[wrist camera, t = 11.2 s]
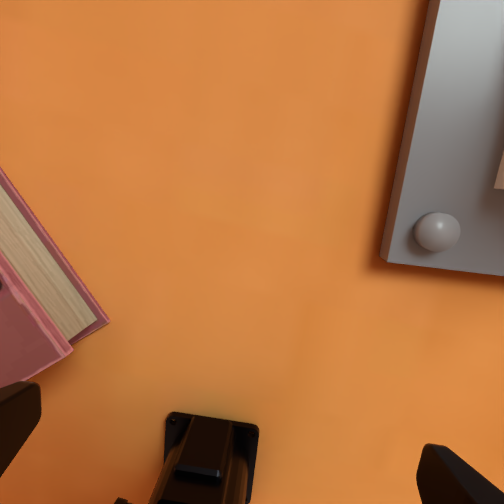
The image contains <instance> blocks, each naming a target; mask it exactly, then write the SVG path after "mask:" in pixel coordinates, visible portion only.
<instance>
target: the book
mask: <svg viewBox="0 0 504 504" xmlns="http://www.w3.org/2000/svg"><path fill="white" fill-rule="evenodd" d="M108 322H110V319H109V318H108V316H107V315H106V314H105V312H104V311H103V309H102V308H101V307H100V305H99V304H98V302H97V301H96V300H95V298H94V297H93V296H92V294H91V293H90V291H89V290H88V289H87V287H86V286H85V284H84V283H83V282H82V280H81V279H80V277H79V276H78V275H77V273H76V272H75V270H74V269H73V268H72V266H71V265H70V263H69V262H68V261H67V259H66V258H65V257H64V255H63V254H62V252H61V251H60V250H59V248H58V247H57V245H56V244H55V243H54V241H53V240H52V238H51V237H50V236H49V234H48V233H47V231H46V230H45V229H44V227H43V226H42V224H41V223H40V222H39V220H38V219H37V217H36V216H35V215H34V213H33V212H32V211H31V209H30V208H29V206H28V205H27V204H26V202H25V201H24V199H23V198H22V197H21V195H20V194H19V192H18V191H17V190H16V188H15V187H14V185H13V184H12V183H11V181H10V180H9V178H8V177H7V176H6V174H5V173H4V171H3V170H2V169H1V167H0V388H2V387H4V386H7V385H10V384H13V383H15V382H18V381H26V380H27V379H29V378H31V377H32V376H34V375H36V374H38V373H39V372H41V371H43V370H44V369H46V368H48V367H49V366H51V365H53V364H54V363H56V362H58V361H60V360H61V359H63V358H65V357H66V356H67V355H69V354H70V353H71V352H72V351H74V349H73V348H72V347H71V345H72V344H74V343H75V342H77V341H79V340H80V339H82V338H84V337H85V336H87V335H89V334H90V333H92V332H94V331H95V330H97V329H99V328H100V327H102V326H104V325H105V324H107V323H108Z"/></svg>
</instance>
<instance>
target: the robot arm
mask: <svg viewBox="0 0 504 504" xmlns="http://www.w3.org/2000/svg"><path fill="white" fill-rule="evenodd" d="M40 417H41V390H40V386H39V384H37V383H34V382H28V381H18V382H15V383H13V384H10V385H7V386H4V387H2V388H0V477H1V476H2V474H3V473H4V471H5V470H6V469H7V467H8V466H9V464H10V463H11V461H12V460H13V459H14V457H15V456H16V454H17V453H18V451H19V450H20V448H21V447H22V446H23V444H24V443H25V441H26V440H27V438H28V437H29V435H30V434H31V433H32V431H33V430H34V428H35V427H36V425H37V424H38V422H39V420H40ZM172 419H175V420H176V421H173V420H172ZM250 431H252V432H254V433H250ZM258 439H259V428H258V426H256V425H254V424H249V423H243V422H237V421H230V420H224V419H217V418H211V417H205V416H198V415H192V414H185V413H179V412H171V413H170V414H169V415H168V417H167V419H166V431H165V450H164V466H163V469H162V471H161V473H160V476H159V478H158V481H157V483H156V486H155V488H154V490H153V493H152V495H151V498H150V500H149V502H148V504H248V503H250V500H251V493H252V485H253V477H254V469H255V462H256V454H257V446H258ZM416 481H417V486H418V490H419V494H420V497H421V501H422V504H504V493H503V492H502V491H501V490H499V489H498V488H497V487H496V486H494V485H493V484H492V483H491V482H490V481H488V480H487V479H486V478H485V477H483V476H482V475H481V474H480V473H479V472H477V471H476V470H475V469H474V468H472V467H471V466H470V465H469V464H467V463H466V462H465V461H464V460H463V459H461V458H460V457H459V456H458V455H456V454H455V453H454V452H453V451H451V450H450V449H449V448H448V447H446V446H443V445H437V444H430V443H428V444H426V445H425V446H424V447H423V450H422V454H421V458H420V462H419V465H418V469H417V474H416ZM114 504H132V503H128V500H126V499H122V498H119V497H118V498H117V500H116V501H115V503H114Z"/></svg>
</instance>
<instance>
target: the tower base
mask: <svg viewBox="0 0 504 504" xmlns="http://www.w3.org/2000/svg"><path fill="white" fill-rule="evenodd" d="M379 256H380V257H381V258H382V259H384V260H385V261H386V262H391V263H399V264H407V265H416V266H424V267H432V268H440V269H449V270H457V271H465V272H474V273H482V274H490V275H498V276H504V0H430V1H429V6H428V11H427V16H426V21H425V26H424V31H423V36H422V41H421V46H420V51H419V56H418V61H417V66H416V72H415V77H414V82H413V87H412V92H411V97H410V102H409V107H408V112H407V117H406V122H405V127H404V132H403V137H402V142H401V147H400V152H399V158H398V163H397V168H396V173H395V178H394V183H393V188H392V193H391V198H390V203H389V208H388V213H387V218H386V223H385V228H384V233H383V238H382V244H381V249H380V254H379Z"/></svg>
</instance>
